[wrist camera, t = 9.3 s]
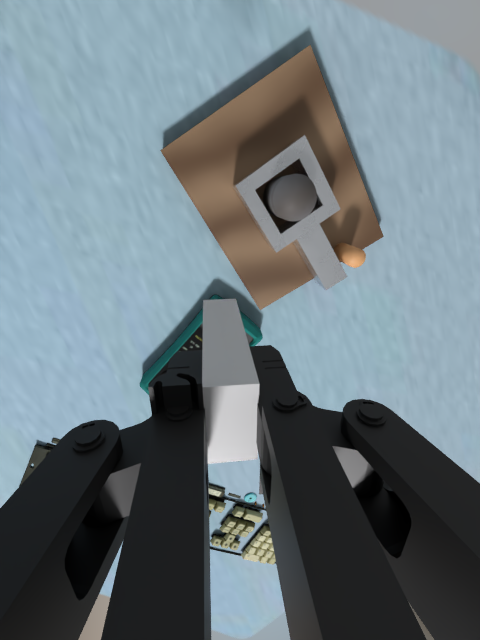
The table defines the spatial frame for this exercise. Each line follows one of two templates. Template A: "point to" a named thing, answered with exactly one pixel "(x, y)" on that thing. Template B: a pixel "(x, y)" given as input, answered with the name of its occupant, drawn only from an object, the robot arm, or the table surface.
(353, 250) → the dowel pin
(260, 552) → the keyboard
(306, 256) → the grey frame piece
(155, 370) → the digital multimeter
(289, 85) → the board
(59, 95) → the table surface
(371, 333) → the table surface
